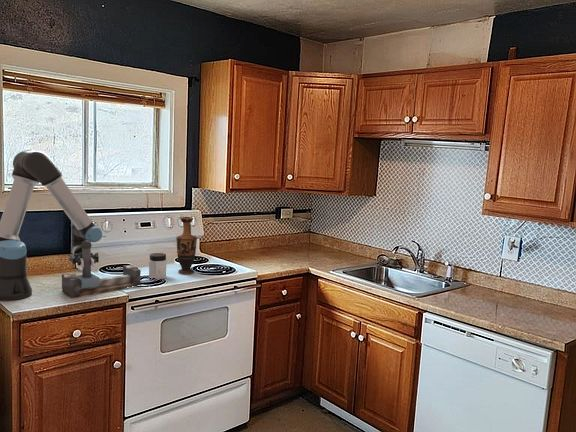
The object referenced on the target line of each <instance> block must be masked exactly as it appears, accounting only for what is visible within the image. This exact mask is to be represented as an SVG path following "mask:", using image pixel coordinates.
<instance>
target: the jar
mask: <svg viewBox="0 0 576 432" xmlns="http://www.w3.org/2000/svg"><path fill="white" fill-rule="evenodd" d="M149 277H151V278H155V279H157V280H164V279H165V278H166V277H167V255H166V253H163V252H153V253H150V254H149V259H148V278H149ZM155 279H154V280H155Z"/></svg>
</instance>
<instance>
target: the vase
mask: <svg viewBox="0 0 576 432" xmlns="http://www.w3.org/2000/svg"><path fill="white" fill-rule="evenodd" d="M179 219H180V222H181V223H182V224H183V227H182V228H183V230H182V231H183V232H182V234H181V235H177V236H176V254H177V260H178V263H179V265H180V269H179V270H178V271H177V272H178V274H180V275H191V274H194V273H195V270H194V269H192V265H193V263H194V261H195V258H196V253H197V242H198V241H197V240H198V237H197V235H193V234H192V227H191V226H192V225H191V223H192V222H193V221H194V217H192V216H191V217H190V216H180V218H179Z"/></svg>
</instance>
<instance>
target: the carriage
mask: <svg viewBox="0 0 576 432" xmlns="http://www.w3.org/2000/svg"><path fill="white" fill-rule="evenodd" d="M92 245H93V244H92V242H90V241H88V240H85V241H83V242H82V243H81V247H82V259H83V261H84V267H81V268H82V273H81V274H78V275H76V278H78V279H79V283H80V288H81V289H82V288H88V287H94V286H99V282H100V279H101V278H100V277H99V276H97V275H96V274H93V273H92V265H91V253H92V249H91V248H92Z"/></svg>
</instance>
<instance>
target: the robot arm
mask: <svg viewBox="0 0 576 432" xmlns="http://www.w3.org/2000/svg"><path fill="white" fill-rule="evenodd" d="M12 166H13V169H12V173H11V177H12V179H13V182H12V185H11V188H10V191H9V194H8V197H7V199H6V202H5V205H4V209H3V211H2V215H1V218H0V301H3V302H5V301H16V300H21V299H26V298H28V297H30V296H32V294H33V288H32V286H31V283H30V281H29V279H28V271H27V270H28V269H27V267H28V266H27V265H28V261H27V253H28V252H27V246H26V243H24V242H23V241H21V239H20V236H19V234H20V231H21V227H22V225H23V222H24V218H25V216H26V212H27V209H28V207H29V203H30V201H31V197H32V194H33V191H34V189H35V186H37V185H39V184H41V186H43V187H45V188H46V189H48V191H49V192H50V194H51V195H52V196H53V198H54V199H55V201H56V202H57V204H58V205H59V206H60V208H61V209H62V210H63V212H64V213H65V215H66V216H67V217H68V218H69V220H70V223H71V224H70V229H71V230H70V231H71V237H70V238H71V244H70V251H71V253H72V254H70V253H69V254H68V257H67V258H68V261H70V262H71V264H73V265H76V264H77V266H78V267H79V266H80V267H81V268H82V267H84V261H83V259H82V247H81V243H82V242H83V241H85V240H88V241H90V242H91V243H97V242H99V241H100V240H101V239H102V237H103V231H102V229H101V228H100V227H98V226H96V225H95V223H94V222H93V220H92V219H91V218H90V216H89V215H88V213H87V212H86V211H85V209H84V208H83V206H82V205H81V203H80V202H79V201H78V199H77V198H76V196H75V195H74V193H73V192H72V190H71V189H70V187H69V186H68V184H66V182H65V181H64V179H63V174H62V172H61V171H60V169H59V168H58V167H57V165H56V163H55V161H53V159H52V158H51V157H50V156H49V155H48V154H47V153H45V152H44V151H39V150H31V149H29V150H28V149H27V150H23V151H20V152H18V153H17V154H16V155H15V156H14V157H13V159H12ZM99 257H100V255H99V252H95V253H93V252H91V268H92V267H94V268H95V264H97V263H99V261H100V260H99Z"/></svg>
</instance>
